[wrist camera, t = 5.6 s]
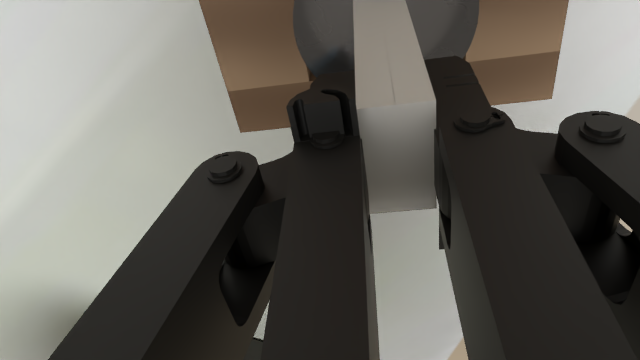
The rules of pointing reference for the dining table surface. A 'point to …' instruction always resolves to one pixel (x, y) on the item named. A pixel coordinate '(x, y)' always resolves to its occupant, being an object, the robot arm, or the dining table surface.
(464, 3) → the grey lid glass jar
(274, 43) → the wooden jar holder
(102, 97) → the dining table surface
